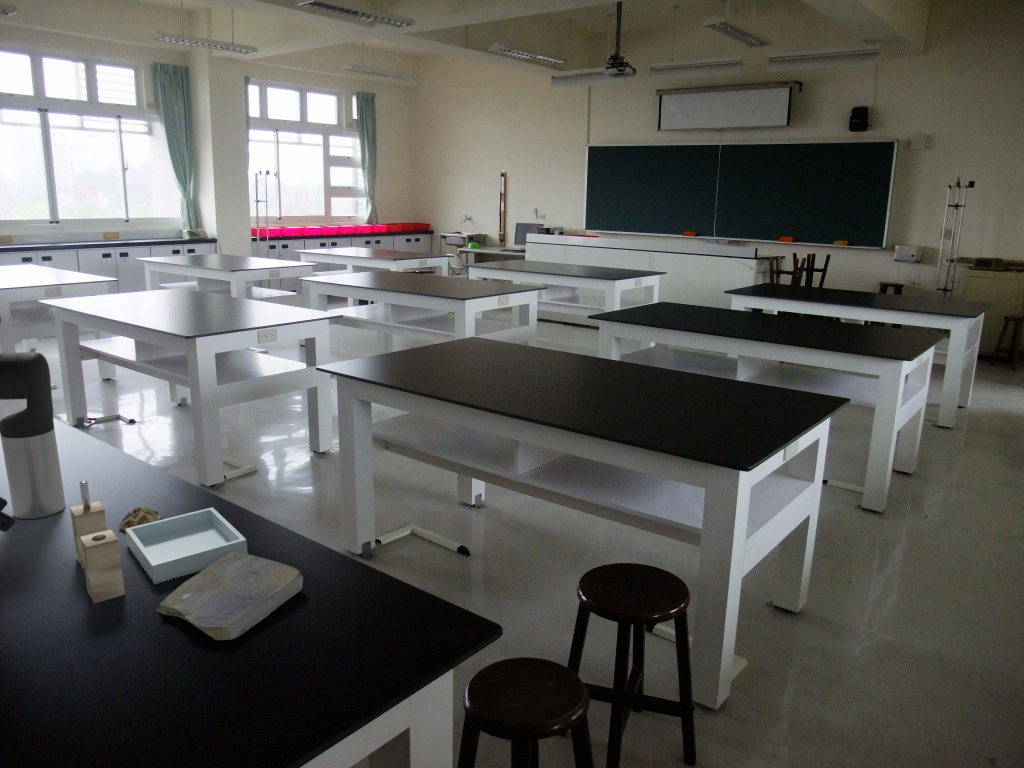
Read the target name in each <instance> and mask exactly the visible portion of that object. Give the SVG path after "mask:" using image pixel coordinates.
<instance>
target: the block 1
mask: <svg viewBox="0 0 1024 768" xmlns="http://www.w3.org/2000/svg"><path fill="white" fill-rule="evenodd" d="M79 488H80V496H81V503H82V504H78V505H74V506H70V507H69V512H70V517H71V518H70V519H71V524H72V525H71V526H72V533H73V538H74V539H73V540H74V546H75V555H76V559H77V561H78V563H79V564H80V566H81V569H85V568H84V561H83V554H82V547H81V540H80V537H81V536H86V535H90V534H94V533H98V532H102V531H106V530H108V525H107V517H106V509H105V508H104V506H103V505H102V504H101V502H100V501H99V500H97V501H93V502H91V500H90V498H91V497H90V492H89V485H88V480H82V481H79Z"/></svg>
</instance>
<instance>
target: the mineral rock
mask: <svg viewBox="0 0 1024 768" xmlns="http://www.w3.org/2000/svg"><path fill="white" fill-rule="evenodd" d="M163 519H165V517H164V516H163V515H159V513H158V511H157V510H155V511H154V510H152V509H150V508H149V507H143V508H142V507H135V508H134V509H133V510H130V511H128V513H127V514H126V515H125V516H124V517H122V522H120V523H119V524H118V525H119V526H118V529H119V530H121V531H123V532H124V533H125V532H126V531H125V529H127V528H131V527H135V526H139V525H143V524H147V523H151V522H155V521H159V520H163Z"/></svg>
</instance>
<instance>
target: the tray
mask: <svg viewBox="0 0 1024 768" xmlns="http://www.w3.org/2000/svg"><path fill="white" fill-rule="evenodd" d="M125 531H126V533H125V538H126V545H128V546H127V547H129V548H130V549H129V548H128V549H129V550H130V552H131V551H132V552H131V554H132V555H133V554H134V555H135V556H134V555H133V556H134V557H135V559H136V558H137V559H136V560H137V562H138V561H139V562H140V563H139V562H138V563H139V565H142V566H141V567H142V569H143V568H144V569H143V570H144V572H145V571H146V572H147V573H146V572H145V573H146V575H147V576H148V575H149V576H148V577H149V579H150V578H151V579H150V580H151V581H152V583H153V585H158V584H160V582H162V583H164V582H163V581H165V582H167V581H166V580H168V581H170V579H172V580H174V579H173V578H175V579H178V578H177V577H179V578H181V577H180V576H182V577H185V576H188V574H189V575H191V574H196V573H200V572H201V571H202V570H204V569H205V568H207V567H208V566H209V565H210V564H212V563H213V562H215V561H216V560H218V559H220V558H222V557H223V556H226V555H228V554H230V553H231V552H233V551H236V552H242V553H246V554H249V552H248V544H247V543H248V542H247V541H248V540H247V539H246V538H245V536H243V535H242V534H241V532H239V531H238V530H237V529H236V528H235V527H234V526H233V525H232V524H231V523H230V522H229V521H227V519H225V518H224V516H222V515H221V514H220V513H219V512H218V511H217V510H216V509H215V508H214V507H208V508H204V509H200V510H196V511H193V512H187V513H183V514H179V515H175V516H172V517H168V518H164V519H163V520H159V521H155V522H151V523H147V524H143V525H139V526H135V527H131V528H127V529H125Z"/></svg>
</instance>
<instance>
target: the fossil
mask: <svg viewBox="0 0 1024 768" xmlns="http://www.w3.org/2000/svg"><path fill="white" fill-rule="evenodd" d="M303 581H304V576H303V574H302V573H301V571H300V570H299V569H298V568H295V567H293V566H291V565H289V564H288V565H287V564H285V563H283V562H280V561H276V560H271V559H269V558H264V557H260V556H258V555H252V554H249V553H248V554H246V553H242V552H236V551H233V552H231V553H230V554H228V555H226V556H223V557H222V558H220V559H218V560H216V561H215V562H213V563H212V564H210V565H209V566H208V567H207V568H205V569H204V570H202V571H199V572H197V574H195V575H193V576H192V577H190V578H188V579H187V580H184V582H182V583H181V585H179V586H178V587H177V588H176V589H174V590H173V591H172V592H171V593H170V594H169V595H167V596H166V598H165V599H163V600H162V601H161V602H160V603H159V607H158V608H157V609H155V612H157V613H160V614H163V615H164V616H171V617H179V618H180V619H183V620H184V621H187V622H189V623H190V624H192V625H193V626H194V627H196V628H197V629H199V630H201V631H202V632H203V633H204V634H205V635H207V636H209V637H211V638H213V640H215V641H225V640H226V641H227V640H230V641H231V640H233V639H234V640H235V639H236V638H237V639H238V637H240V636H241V635H243V634H245V633H246V632H247V631H248V630H250V629H251V628H253V627H254V626H255V625H257V624H258V623H260V622H261V621H263V619H265V618H267V617H268V616H269V615H270V614H271V613H273V612H274V611H275V610H277V609H278V608H279V607H280V606H281V605H283V604H284V603H286V602H287V601H288V600H290V599H291V598H292V597H294V596H295V595H296V594H298V593H300V591H302V589H303V583H304V582H303Z"/></svg>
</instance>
